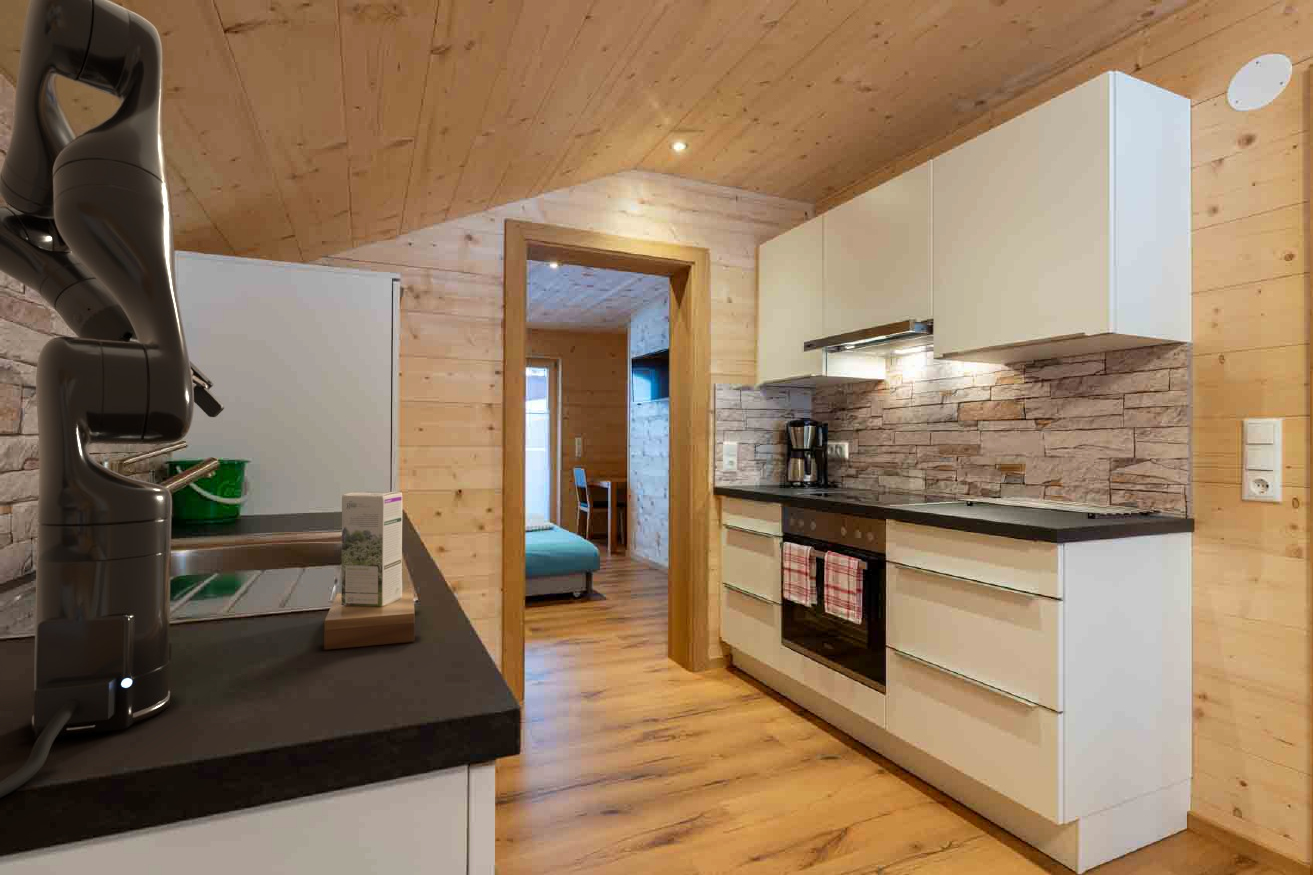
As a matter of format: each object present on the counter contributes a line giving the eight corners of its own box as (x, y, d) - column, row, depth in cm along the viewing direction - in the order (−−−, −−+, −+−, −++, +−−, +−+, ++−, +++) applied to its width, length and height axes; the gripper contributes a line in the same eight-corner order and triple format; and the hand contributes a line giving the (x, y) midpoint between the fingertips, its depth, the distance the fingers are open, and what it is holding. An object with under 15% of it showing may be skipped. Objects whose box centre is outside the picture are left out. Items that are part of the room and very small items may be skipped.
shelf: (414, 641, 82) (414, 613, 83) (324, 650, 79) (324, 620, 79) (412, 612, 97) (413, 588, 98) (336, 618, 94) (337, 593, 94)
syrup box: (403, 597, 91) (404, 490, 91) (381, 608, 85) (382, 493, 85) (363, 596, 92) (364, 490, 92) (339, 606, 86) (340, 493, 86)
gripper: (84, 289, 80) (179, 385, 80) (170, 313, 95) (250, 395, 94) (39, 333, 80) (134, 429, 80) (131, 351, 94) (212, 432, 94)
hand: (197, 411), depth 87 cm, fingers open, 8 cm apart
